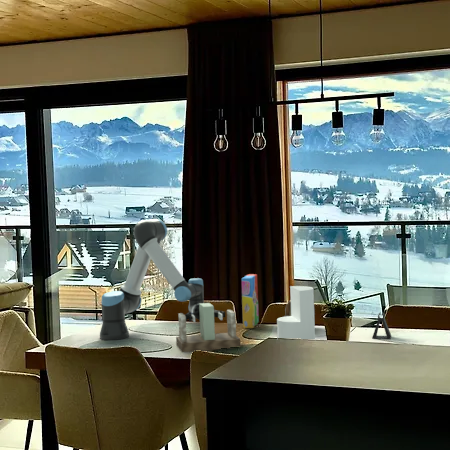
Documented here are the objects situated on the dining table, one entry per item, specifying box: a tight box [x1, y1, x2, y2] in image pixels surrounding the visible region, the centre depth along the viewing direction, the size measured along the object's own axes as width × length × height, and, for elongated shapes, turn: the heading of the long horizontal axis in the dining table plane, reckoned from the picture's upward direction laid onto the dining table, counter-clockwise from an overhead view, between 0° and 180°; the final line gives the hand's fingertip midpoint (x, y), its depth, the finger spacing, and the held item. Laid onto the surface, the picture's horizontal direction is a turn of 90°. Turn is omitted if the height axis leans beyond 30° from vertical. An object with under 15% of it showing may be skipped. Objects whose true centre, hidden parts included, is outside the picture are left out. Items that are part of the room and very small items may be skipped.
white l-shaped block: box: [276, 285, 316, 340], centre depth 349 cm, size 17×17×28 cm
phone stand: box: [371, 312, 392, 340], centre depth 367 cm, size 9×6×12 cm, turn 75°
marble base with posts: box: [175, 309, 241, 353], centre depth 362 cm, size 28×18×16 cm, turn 102°
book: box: [199, 302, 216, 340], centre depth 362 cm, size 5×11×16 cm, turn 12°
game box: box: [241, 273, 260, 329], centre depth 413 cm, size 21×6×27 cm, turn 168°
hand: (208, 318), depth 358 cm, fingers open, 13 cm apart
